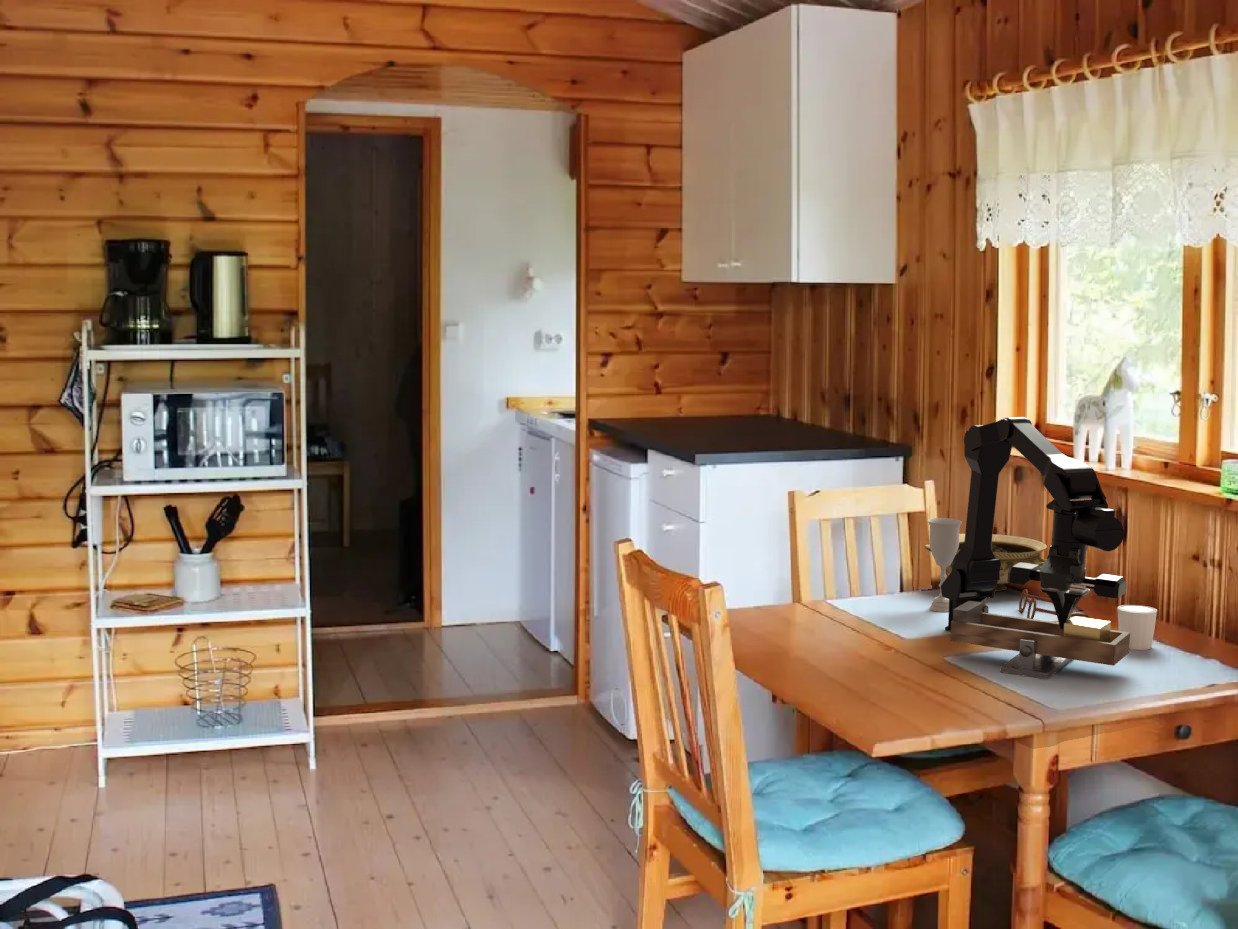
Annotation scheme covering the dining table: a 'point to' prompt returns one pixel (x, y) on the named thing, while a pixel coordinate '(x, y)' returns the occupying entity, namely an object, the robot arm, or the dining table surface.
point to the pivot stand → (1033, 662)
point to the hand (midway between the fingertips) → (1062, 629)
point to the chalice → (943, 552)
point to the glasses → (1025, 594)
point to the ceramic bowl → (1009, 553)
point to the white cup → (1138, 625)
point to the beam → (1032, 636)
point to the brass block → (1088, 629)
